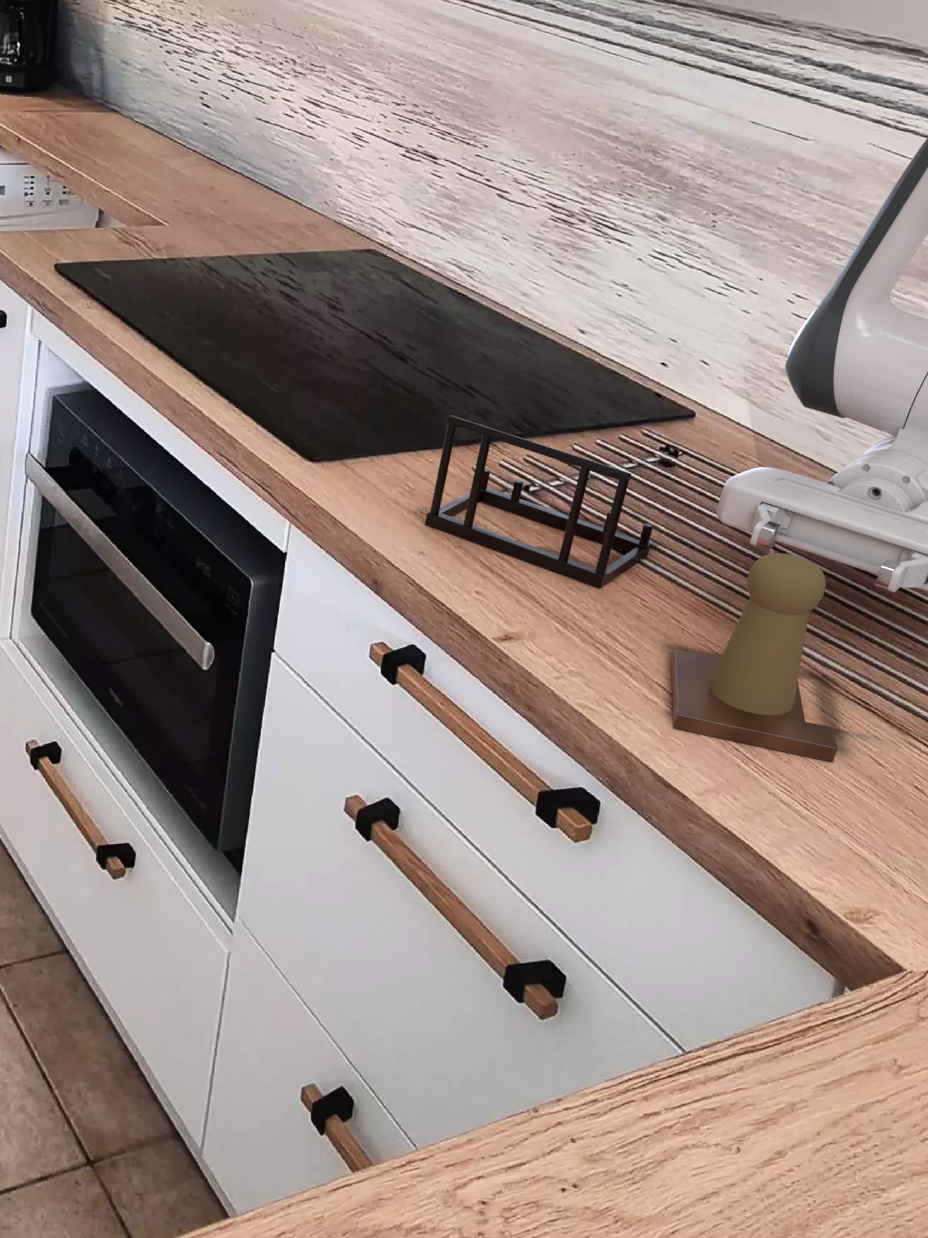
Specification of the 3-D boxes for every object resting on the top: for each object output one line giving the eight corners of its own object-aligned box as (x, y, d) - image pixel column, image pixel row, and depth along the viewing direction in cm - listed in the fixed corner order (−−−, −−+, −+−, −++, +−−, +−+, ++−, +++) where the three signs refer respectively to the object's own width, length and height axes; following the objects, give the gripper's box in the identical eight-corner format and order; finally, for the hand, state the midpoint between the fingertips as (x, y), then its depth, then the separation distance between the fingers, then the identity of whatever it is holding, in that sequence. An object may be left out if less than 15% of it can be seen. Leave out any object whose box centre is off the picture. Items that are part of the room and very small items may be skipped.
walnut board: (818, 692, 128) (823, 679, 127) (833, 762, 119) (837, 748, 118) (670, 662, 130) (674, 648, 130) (673, 728, 121) (677, 714, 120)
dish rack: (477, 496, 158) (499, 392, 153) (647, 556, 149) (677, 447, 144) (424, 524, 151) (446, 416, 146) (600, 589, 141) (629, 475, 137)
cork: (809, 715, 122) (854, 580, 117) (733, 715, 121) (776, 579, 116) (767, 674, 127) (809, 543, 122) (694, 674, 126) (733, 542, 121)
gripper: (762, 437, 140) (700, 477, 130) (1023, 515, 129) (977, 565, 119) (741, 506, 143) (679, 551, 133) (995, 588, 132) (948, 643, 122)
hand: (822, 558), depth 126 cm, fingers open, 8 cm apart
